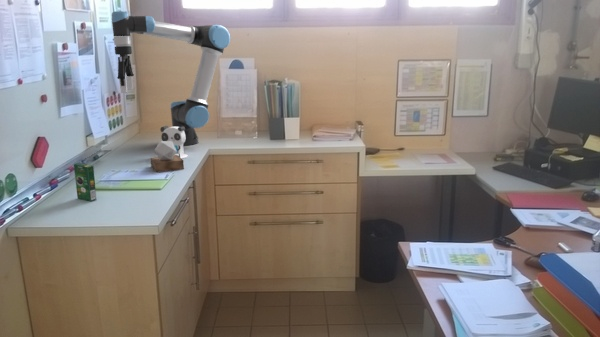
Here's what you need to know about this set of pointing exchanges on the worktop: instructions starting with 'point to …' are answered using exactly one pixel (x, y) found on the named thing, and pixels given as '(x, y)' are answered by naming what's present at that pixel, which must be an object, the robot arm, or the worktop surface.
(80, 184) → the coffee box
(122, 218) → the worktop surface
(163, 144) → the die
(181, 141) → the panda figurine
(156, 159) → the plinth
